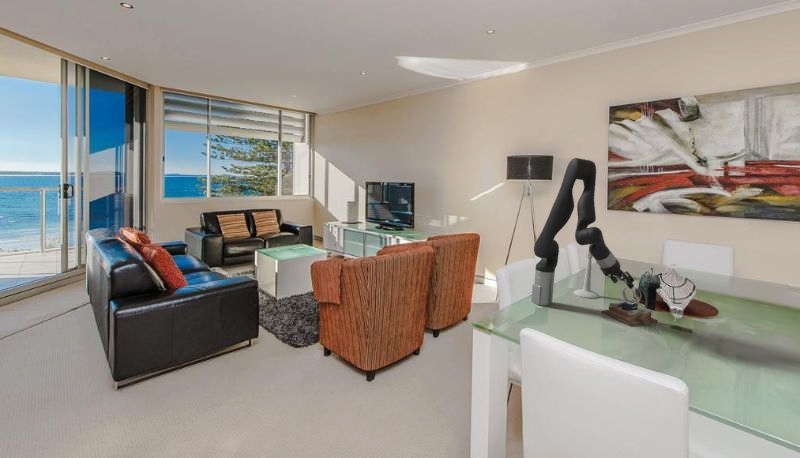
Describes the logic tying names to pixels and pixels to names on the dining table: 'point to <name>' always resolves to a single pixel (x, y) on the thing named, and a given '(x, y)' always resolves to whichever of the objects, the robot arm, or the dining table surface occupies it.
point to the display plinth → (649, 321)
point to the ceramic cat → (649, 289)
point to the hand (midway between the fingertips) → (623, 284)
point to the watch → (627, 304)
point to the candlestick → (587, 282)
